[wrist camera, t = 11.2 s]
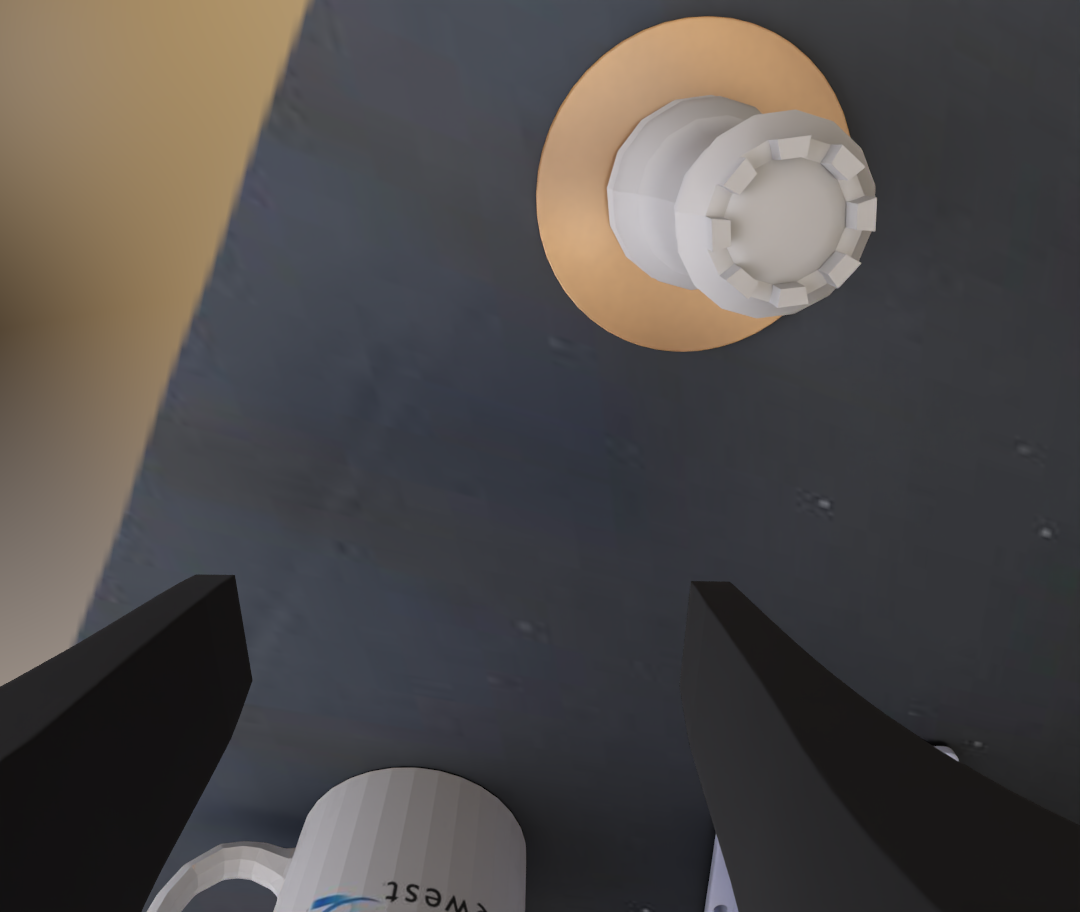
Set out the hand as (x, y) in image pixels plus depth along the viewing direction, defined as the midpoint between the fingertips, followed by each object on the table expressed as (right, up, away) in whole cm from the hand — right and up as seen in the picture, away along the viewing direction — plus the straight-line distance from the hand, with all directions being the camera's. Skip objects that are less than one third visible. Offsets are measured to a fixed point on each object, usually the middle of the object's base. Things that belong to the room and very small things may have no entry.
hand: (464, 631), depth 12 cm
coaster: (+5, +9, +7) cm, 13 cm away
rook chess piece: (+5, +9, +7) cm, 13 cm away
